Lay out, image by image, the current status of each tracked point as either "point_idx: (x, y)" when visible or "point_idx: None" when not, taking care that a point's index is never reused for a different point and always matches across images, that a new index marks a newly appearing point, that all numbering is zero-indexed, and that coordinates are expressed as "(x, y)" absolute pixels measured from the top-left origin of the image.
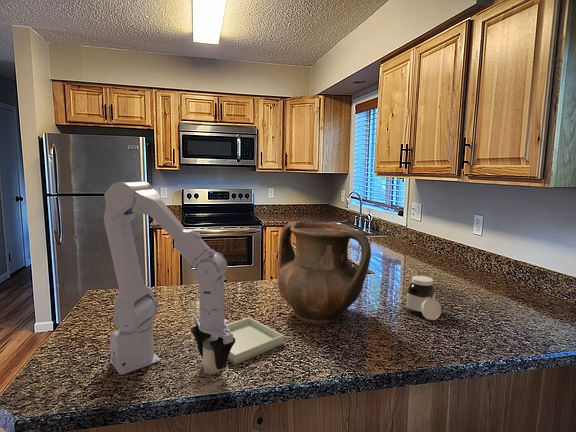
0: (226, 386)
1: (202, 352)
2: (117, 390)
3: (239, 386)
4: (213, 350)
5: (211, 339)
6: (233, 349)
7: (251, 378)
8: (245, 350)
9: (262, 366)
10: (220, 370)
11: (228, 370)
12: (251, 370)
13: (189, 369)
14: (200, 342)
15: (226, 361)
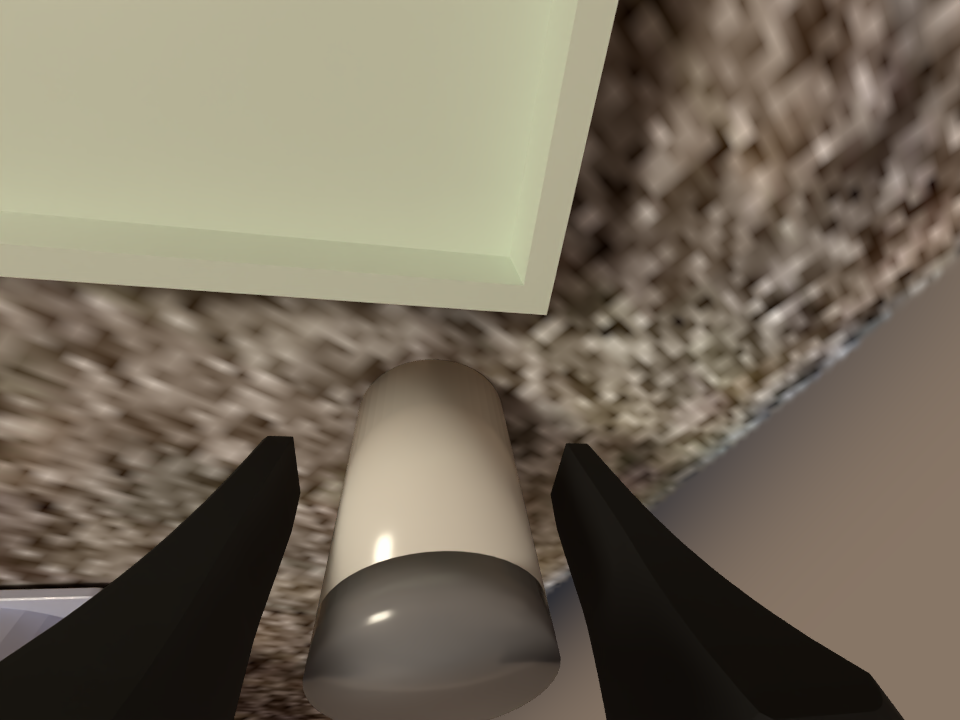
0: (658, 455)
1: (290, 516)
2: (291, 707)
3: (732, 408)
4: (611, 708)
5: (383, 674)
6: (286, 106)
7: (766, 303)
8: (576, 140)
9: (780, 86)
10: (499, 400)
11: (542, 356)
12: (710, 225)
13: (326, 511)
14: (245, 637)
15: (612, 477)
